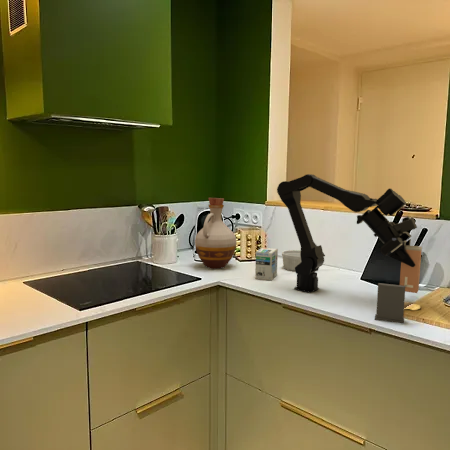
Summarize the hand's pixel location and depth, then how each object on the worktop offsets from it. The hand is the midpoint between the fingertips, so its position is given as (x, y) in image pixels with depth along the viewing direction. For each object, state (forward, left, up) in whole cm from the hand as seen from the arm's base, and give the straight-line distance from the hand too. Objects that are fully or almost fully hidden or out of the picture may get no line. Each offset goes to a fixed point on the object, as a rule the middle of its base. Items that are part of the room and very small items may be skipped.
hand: (415, 264), depth 126 cm
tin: (-1, 0, -8) cm, 8 cm away
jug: (-81, -2, -14) cm, 82 cm away
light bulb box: (-55, 0, -14) cm, 57 cm away
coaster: (-1, 0, -13) cm, 14 cm away
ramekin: (-54, +21, -14) cm, 60 cm away
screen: (-1, -16, -13) cm, 21 cm away
